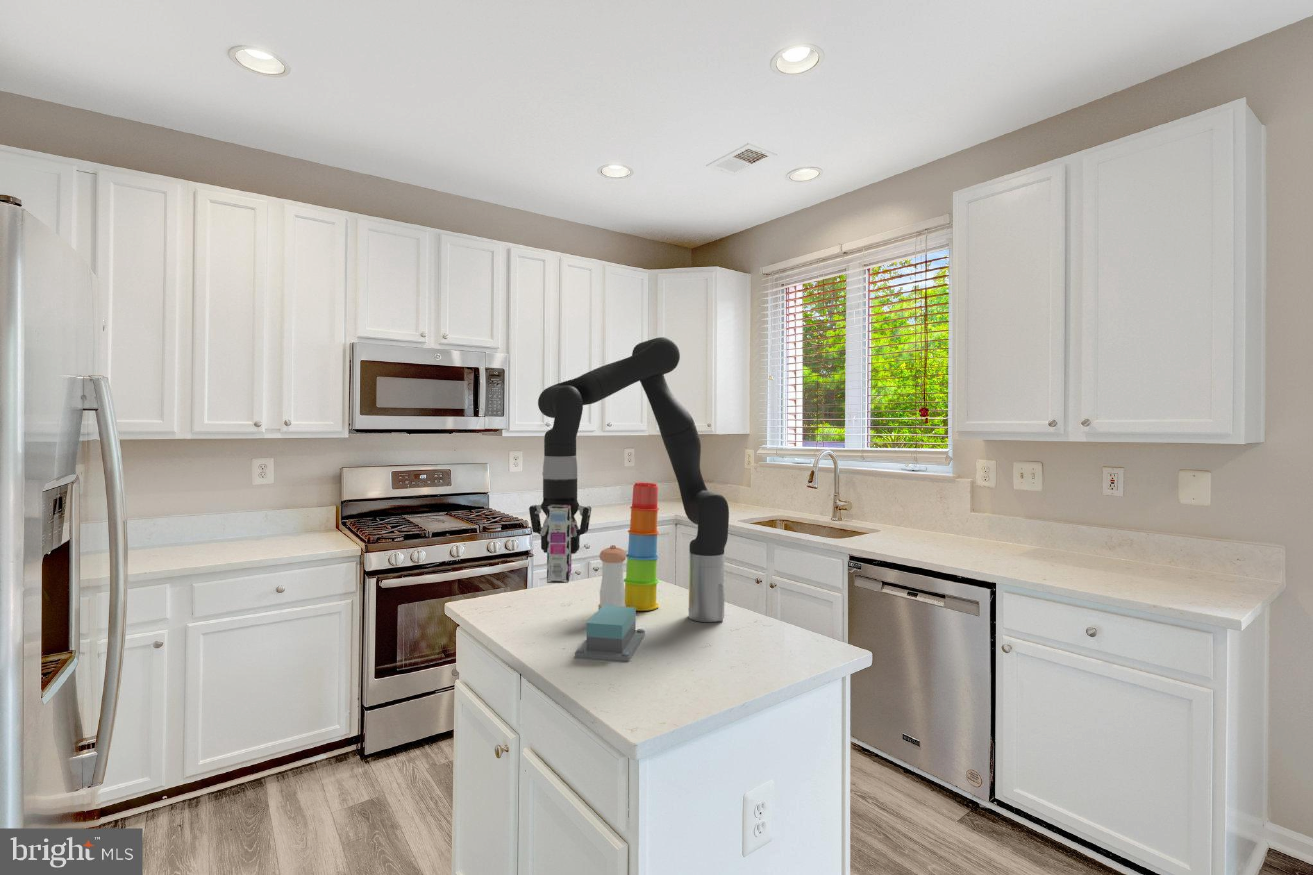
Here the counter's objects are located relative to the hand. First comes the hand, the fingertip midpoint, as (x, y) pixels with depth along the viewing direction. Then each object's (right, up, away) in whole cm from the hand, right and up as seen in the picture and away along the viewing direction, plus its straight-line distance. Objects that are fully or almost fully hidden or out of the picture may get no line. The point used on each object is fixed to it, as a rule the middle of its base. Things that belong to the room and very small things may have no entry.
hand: (560, 552), depth 139 cm
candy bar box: (0, -6, 0) cm, 6 cm away
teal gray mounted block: (+11, -22, +5) cm, 25 cm away
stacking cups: (+17, -22, +36) cm, 46 cm away
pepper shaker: (+10, -22, +25) cm, 35 cm away
